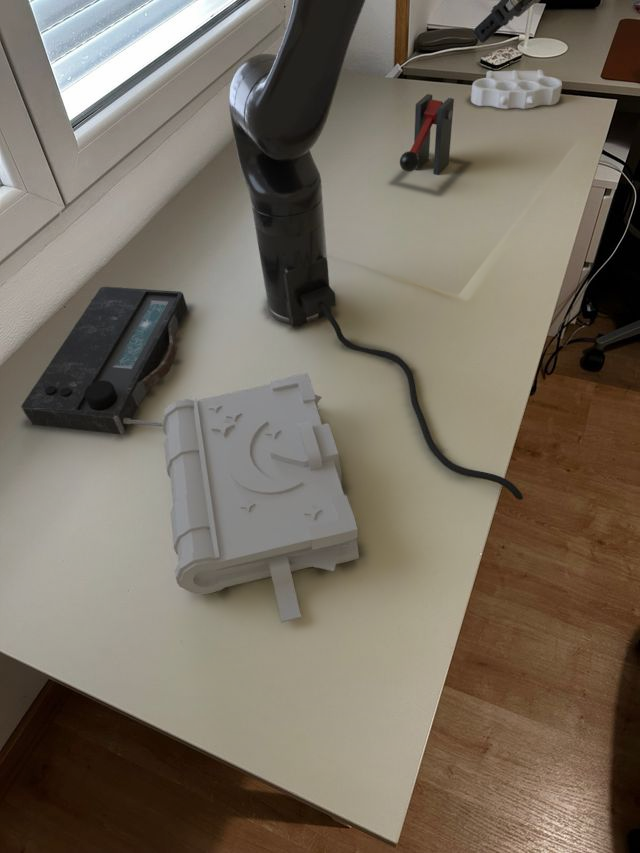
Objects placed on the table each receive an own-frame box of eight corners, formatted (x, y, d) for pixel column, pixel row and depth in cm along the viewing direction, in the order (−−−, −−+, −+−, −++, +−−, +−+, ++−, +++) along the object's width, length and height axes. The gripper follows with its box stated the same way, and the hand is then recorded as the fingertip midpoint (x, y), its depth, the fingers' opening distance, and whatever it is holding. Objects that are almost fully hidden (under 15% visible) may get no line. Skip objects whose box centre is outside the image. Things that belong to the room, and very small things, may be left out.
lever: (415, 177, 110) (411, 165, 107) (398, 173, 111) (394, 161, 108) (447, 113, 111) (444, 99, 108) (430, 110, 112) (427, 96, 109)
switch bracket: (438, 194, 113) (443, 120, 104) (393, 183, 117) (394, 111, 107) (467, 163, 120) (474, 91, 110) (423, 154, 123) (426, 83, 114)
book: (190, 650, 62) (170, 615, 56) (168, 436, 80) (152, 394, 75) (382, 601, 64) (382, 563, 58) (319, 403, 82) (314, 360, 77)
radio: (98, 279, 96) (225, 287, 93) (107, 302, 100) (231, 311, 96) (15, 401, 80) (165, 417, 77) (29, 424, 84) (174, 440, 80)
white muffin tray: (555, 82, 140) (561, 111, 131) (470, 83, 143) (470, 112, 133) (558, 65, 138) (565, 94, 128) (472, 67, 140) (472, 95, 131)
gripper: (590, -111, 78) (483, -3, 92) (552, -84, 71) (442, 27, 85) (623, -54, 80) (513, 42, 94) (589, -23, 73) (475, 76, 87)
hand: (479, 35), depth 89 cm, fingers closed
